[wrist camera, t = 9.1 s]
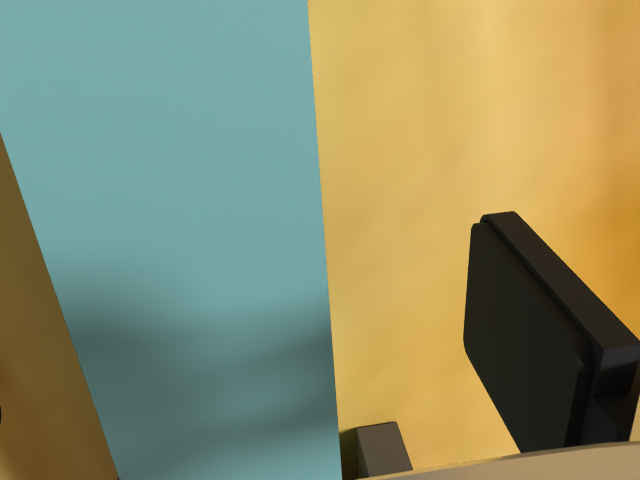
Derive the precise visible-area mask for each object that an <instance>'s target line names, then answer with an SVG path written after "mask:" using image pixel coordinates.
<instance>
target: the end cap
mask: <svg viewBox="0 0 640 480" xmlns="http://www.w3.org/2000/svg"><path fill="white" fill-rule="evenodd" d="M357 448H358V472H359V479H362V478H368V477H375V476H381V475H387V474H393V473H400V472H406V471H412V470H413V468H412V465H411V462H410V459H409V456H408V453H407V451H406V448H405V445H404V442H403V439H402V436H401V433H400V430H399V427H398V425H397V422H393V423H387V424H381V425H374V426H368V427H362V428H357ZM117 480H120V479H119V476H118V479H117Z"/></svg>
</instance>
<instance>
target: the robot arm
mask: <svg viewBox="0 0 640 480" xmlns="http://www.w3.org/2000/svg"><path fill="white" fill-rule="evenodd" d="M463 341H464V347H465V351H466V354H467V356H468V358H469V360H470V362H471V363H472V365H473V367H474V369H475V371H476V372H477V374H478V376H479V378H480V380H481V382H482V383H483V385H484V387H485V389H486V391H487V392H488V394H489V396H490V398H491V400H492V401H493V403H494V405H495V407H496V409H497V410H498V412H499V414H500V416H501V418H502V420H503V421H504V423H505V425H506V427H507V429H508V430H509V432H510V434H511V436H512V438H513V439H514V441H515V443H516V445H517V447H518V449H519V450H520V452H521V453H520V454H514V455H508V456H502V457H496V458H489V459H482V460H476V461H469V462H462V463H456V464H450V465H443V466H437V467H431V468H425V469H418V470H412V471H406V472H400V473H393V474H387V475H381V476H375V477H368V478H362V479H356V480H640V340H639V339H638V338H637V337H636V336H635V335H634V334H633V333H632V332H631V331H630V330H629V329H628V328H627V327H626V326H625V325H624V324H623V323H622V322H621V321H620V320H619V319H618V318H617V317H616V315H615V314H614V313H613V312H612V311H611V310H610V309H609V308H608V307H607V306H606V305H605V304H604V303H603V302H602V301H601V300H600V299H599V298H598V297H597V296H596V295H595V294H594V293H593V292H592V291H591V290H590V289H589V288H588V286H587V285H586V284H585V283H584V282H583V281H582V280H581V279H580V278H579V277H578V276H577V275H576V274H575V273H574V272H573V271H572V270H571V269H570V268H569V267H568V266H567V265H566V264H565V263H564V262H563V261H562V260H561V259H560V257H559V256H558V255H557V254H556V253H555V252H554V251H553V250H552V249H551V248H550V247H549V246H548V245H547V244H546V243H545V242H544V241H543V240H542V239H541V238H540V237H539V236H538V235H537V234H536V233H535V232H534V231H533V230H532V228H531V227H530V226H529V225H528V224H527V223H526V222H525V221H524V220H523V219H522V218H521V217H520V216H519V215H518V214H517V213H516V212H514V211H510V212H502V213H494V214H486V215H483V216H482V217H481V220H480V223H475V224H473V226H472V228H471V238H470V251H469V265H468V279H467V292H466V306H465V320H464V334H463ZM0 423H1V406H0Z"/></svg>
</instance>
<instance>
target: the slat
mask: <svg viewBox="0 0 640 480" xmlns="http://www.w3.org/2000/svg"><path fill="white" fill-rule="evenodd" d="M0 133H1V136H2V139H3V142H4V144H5V147H6V150H7V153H8V156H9V159H10V162H11V165H12V168H13V171H14V174H15V176H16V179H17V182H18V185H19V188H20V191H21V194H22V197H23V200H24V203H25V206H26V208H27V211H28V214H29V217H30V220H31V223H32V226H33V229H34V232H35V235H36V238H37V241H38V243H39V246H40V249H41V252H42V255H43V258H44V261H45V264H46V267H47V270H48V273H49V275H50V278H51V281H52V284H53V287H54V290H55V293H56V296H57V299H58V302H59V305H60V307H61V310H62V313H63V316H64V319H65V322H66V325H67V328H68V331H69V334H70V337H71V340H72V342H73V345H74V348H75V351H76V354H77V357H78V360H79V363H80V366H81V369H82V372H83V374H84V377H85V380H86V383H87V386H88V389H89V392H90V395H91V398H92V401H93V404H94V406H95V409H96V412H97V415H98V418H99V421H100V424H101V427H102V430H103V433H104V436H105V438H106V441H107V444H108V447H109V450H110V453H111V456H112V459H113V462H114V465H115V468H116V471H117V473H118V476H119V479H120V480H342V471H341V457H340V444H339V430H338V416H337V403H336V389H335V376H334V362H333V348H332V335H331V321H330V307H329V294H328V280H327V266H326V253H325V239H324V225H323V212H322V198H321V184H320V171H319V157H318V144H317V130H316V116H315V103H314V89H313V75H312V62H311V48H310V34H309V21H308V7H307V0H0Z"/></svg>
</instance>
